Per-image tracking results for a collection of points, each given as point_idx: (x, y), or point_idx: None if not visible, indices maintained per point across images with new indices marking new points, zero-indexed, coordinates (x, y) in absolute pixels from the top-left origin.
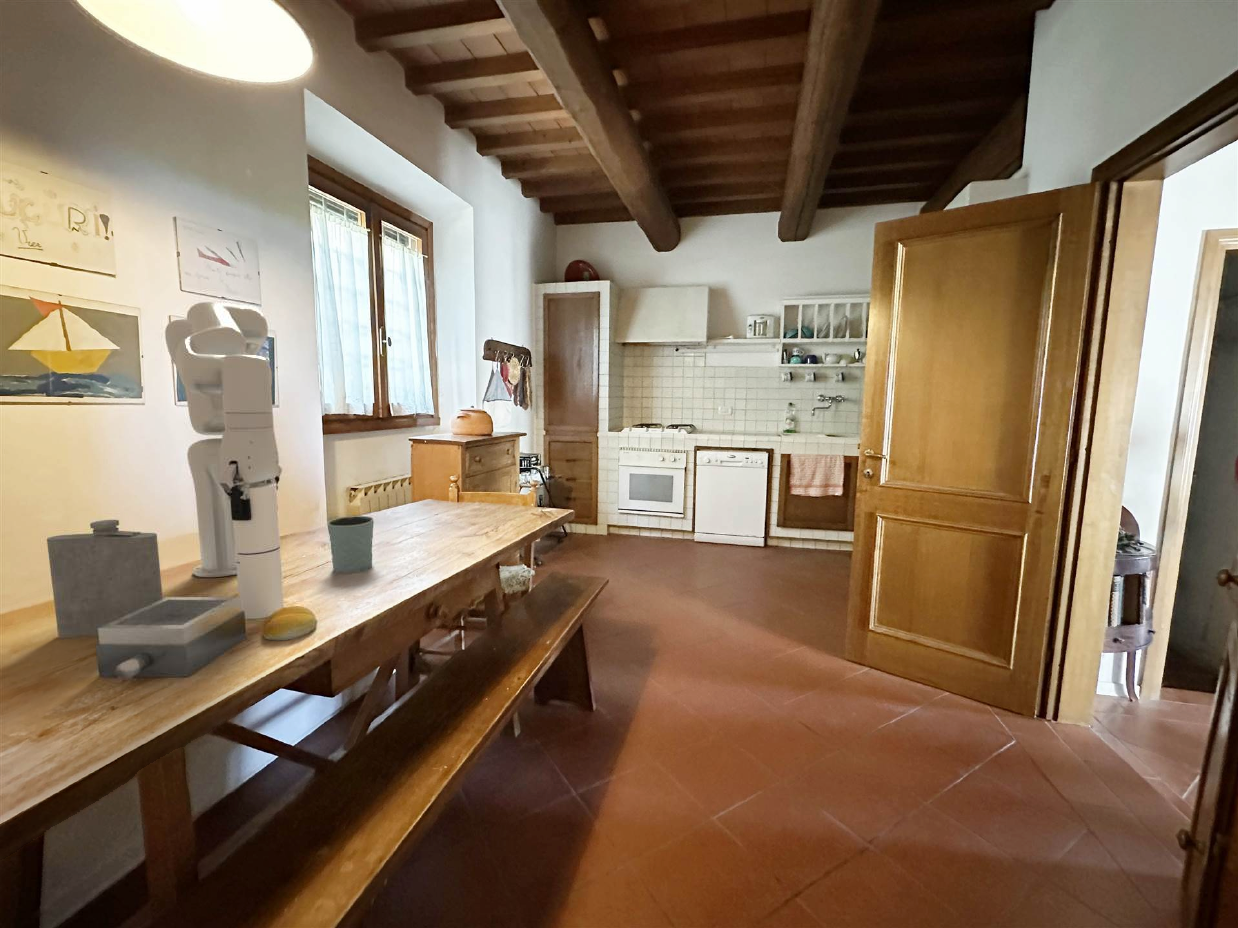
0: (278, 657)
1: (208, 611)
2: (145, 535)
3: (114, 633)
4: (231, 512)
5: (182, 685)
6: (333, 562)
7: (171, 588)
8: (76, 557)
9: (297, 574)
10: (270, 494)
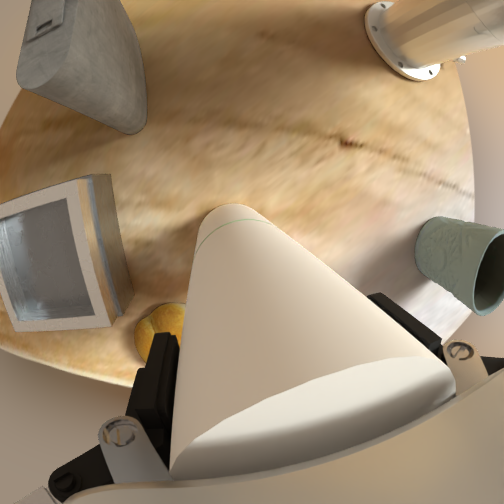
0: (108, 367)
1: (54, 320)
2: (40, 61)
3: None
4: (149, 352)
5: None
6: (432, 229)
7: (312, 5)
8: None
9: (407, 170)
10: None
